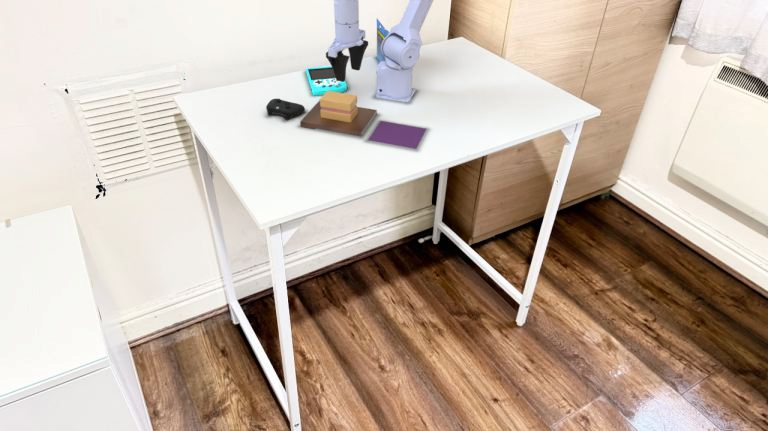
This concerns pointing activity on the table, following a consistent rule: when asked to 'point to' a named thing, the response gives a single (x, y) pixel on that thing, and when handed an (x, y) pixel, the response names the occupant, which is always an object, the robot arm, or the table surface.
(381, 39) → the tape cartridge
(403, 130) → the felt cloth
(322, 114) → the sandwich
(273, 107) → the gaming controller
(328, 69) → the handheld game console
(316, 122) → the cutting board
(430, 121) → the table surface
